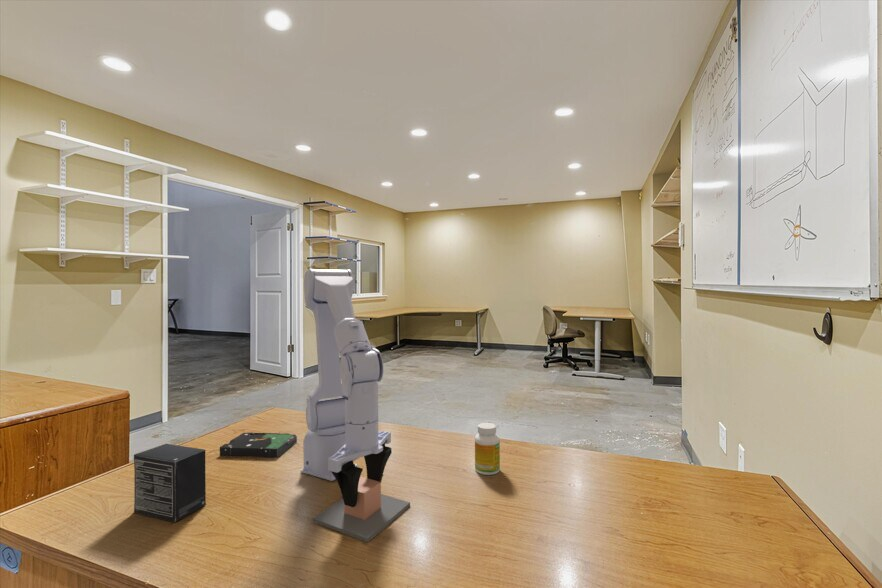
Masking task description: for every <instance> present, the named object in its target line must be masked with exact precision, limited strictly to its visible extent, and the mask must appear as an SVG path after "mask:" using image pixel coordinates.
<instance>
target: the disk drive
mask: <svg viewBox="0 0 882 588" xmlns="http://www.w3.org/2000/svg"><path fill="white" fill-rule="evenodd" d="M297 437H298V436H297V434H294V433H286V432H285V433H282V432H281V433H279V432H277V433H276V432H275V433H272V432H242V433H241V434H240V435H238V436H236V437H234V438H233V439H231V440H229V442H228V443H224V444H222V445H221V446H220V447H219V457H232V458H233V457H235V458H237V457H238V458H266V459H267V458H268V459H271V458H272V459H278V458H279V457H281V456H282V455H283V454H284V453H286V452H287V451H288V450H289V449H291V447H293V446H294V445H295V444H296V443H297V442H298V439H297Z"/></svg>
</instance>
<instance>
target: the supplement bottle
mask: <svg viewBox="0 0 882 588" xmlns="http://www.w3.org/2000/svg"><path fill="white" fill-rule="evenodd" d="M500 443H501V442H500V436H499V435H498V434H497V425H495V423H492V422H491V423H490V422H481V423H479V424H478V425H477V434H476V435H475V437H474V470H475V472H477V473H478V474H480V475H485V476H492V475H496V474H498V473H499V472H500V470H501V469H500V468H501V464H500V463H501V462H500V460H501V457H500V456H501V455H500V454H501V452H500V451H501V448H500V446H501V445H500Z"/></svg>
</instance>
